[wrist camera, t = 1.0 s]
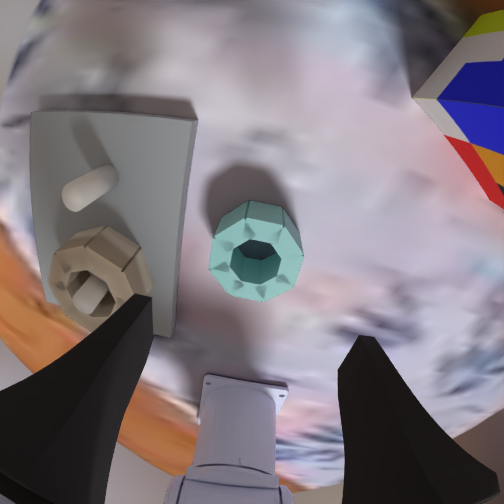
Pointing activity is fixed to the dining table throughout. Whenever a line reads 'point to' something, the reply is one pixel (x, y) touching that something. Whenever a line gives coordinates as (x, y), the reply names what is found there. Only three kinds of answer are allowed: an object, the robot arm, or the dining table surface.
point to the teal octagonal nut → (253, 270)
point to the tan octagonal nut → (99, 272)
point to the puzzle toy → (473, 101)
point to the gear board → (113, 192)
